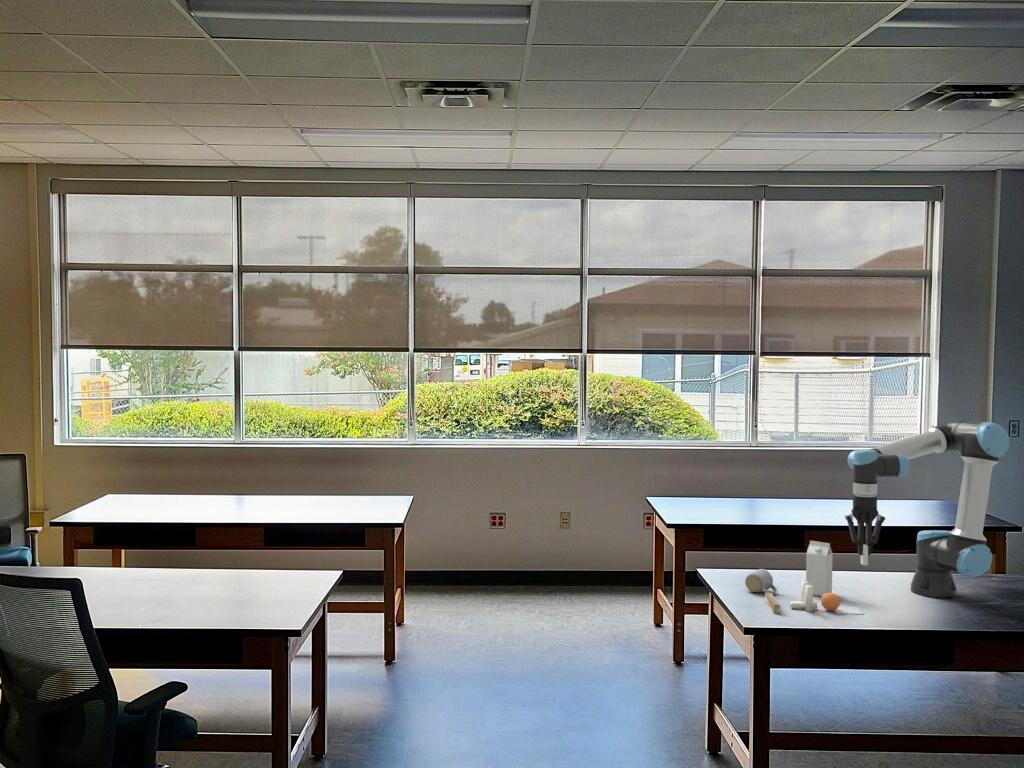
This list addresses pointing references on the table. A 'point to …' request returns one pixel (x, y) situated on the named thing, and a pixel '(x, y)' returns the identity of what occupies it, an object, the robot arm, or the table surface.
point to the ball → (830, 601)
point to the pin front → (801, 605)
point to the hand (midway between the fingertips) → (864, 564)
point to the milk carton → (819, 567)
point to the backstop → (772, 603)
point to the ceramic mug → (760, 581)
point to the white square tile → (847, 610)
